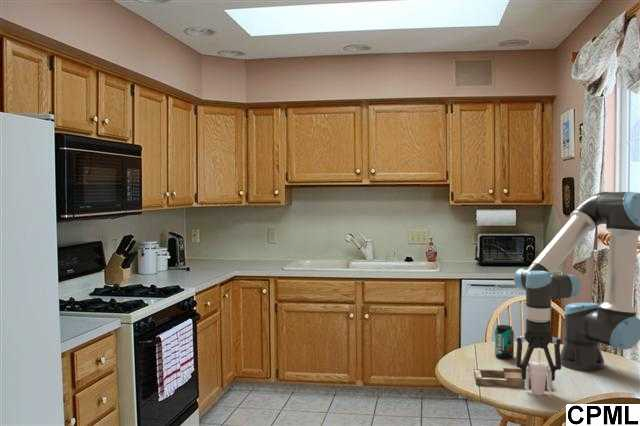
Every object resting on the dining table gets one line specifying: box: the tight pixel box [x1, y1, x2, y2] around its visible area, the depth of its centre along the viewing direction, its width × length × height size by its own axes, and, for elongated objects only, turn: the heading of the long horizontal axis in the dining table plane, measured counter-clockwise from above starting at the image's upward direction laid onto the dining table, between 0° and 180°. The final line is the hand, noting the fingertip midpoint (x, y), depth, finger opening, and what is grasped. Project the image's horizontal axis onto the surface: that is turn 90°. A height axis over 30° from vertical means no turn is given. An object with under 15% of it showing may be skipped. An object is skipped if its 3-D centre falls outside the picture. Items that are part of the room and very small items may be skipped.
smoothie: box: [527, 350, 550, 396], centre depth 178 cm, size 6×6×14 cm
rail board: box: [473, 367, 547, 389], centre depth 189 cm, size 24×10×3 cm, turn 78°
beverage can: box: [494, 324, 515, 360], centre depth 215 cm, size 7×7×12 cm
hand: (537, 389), depth 178 cm, fingers closed on smoothie, 6 cm apart
